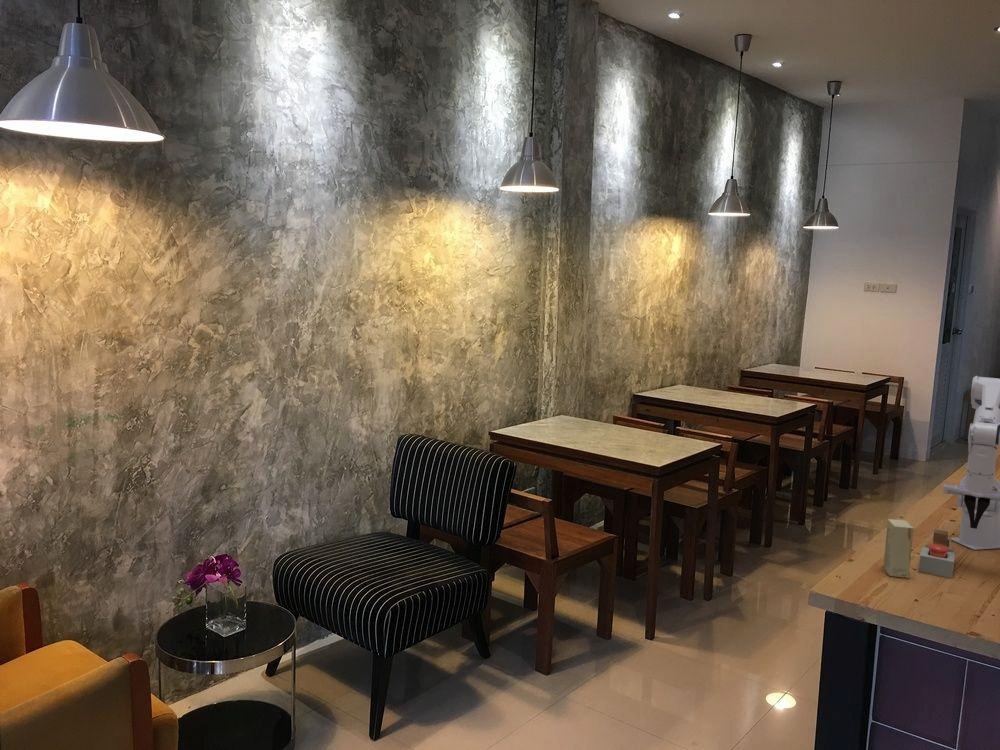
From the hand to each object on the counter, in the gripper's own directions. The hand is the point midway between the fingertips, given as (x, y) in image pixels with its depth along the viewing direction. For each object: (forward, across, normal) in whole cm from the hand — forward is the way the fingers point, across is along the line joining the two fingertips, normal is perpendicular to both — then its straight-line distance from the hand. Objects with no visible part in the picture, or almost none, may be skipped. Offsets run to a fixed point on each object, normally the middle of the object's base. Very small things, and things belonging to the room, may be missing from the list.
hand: (973, 527), depth 195 cm
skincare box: (+11, -15, -13) cm, 23 cm away
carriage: (+10, -7, +1) cm, 12 cm away
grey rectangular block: (+10, -7, -6) cm, 14 cm away
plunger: (+9, -7, -6) cm, 13 cm away
